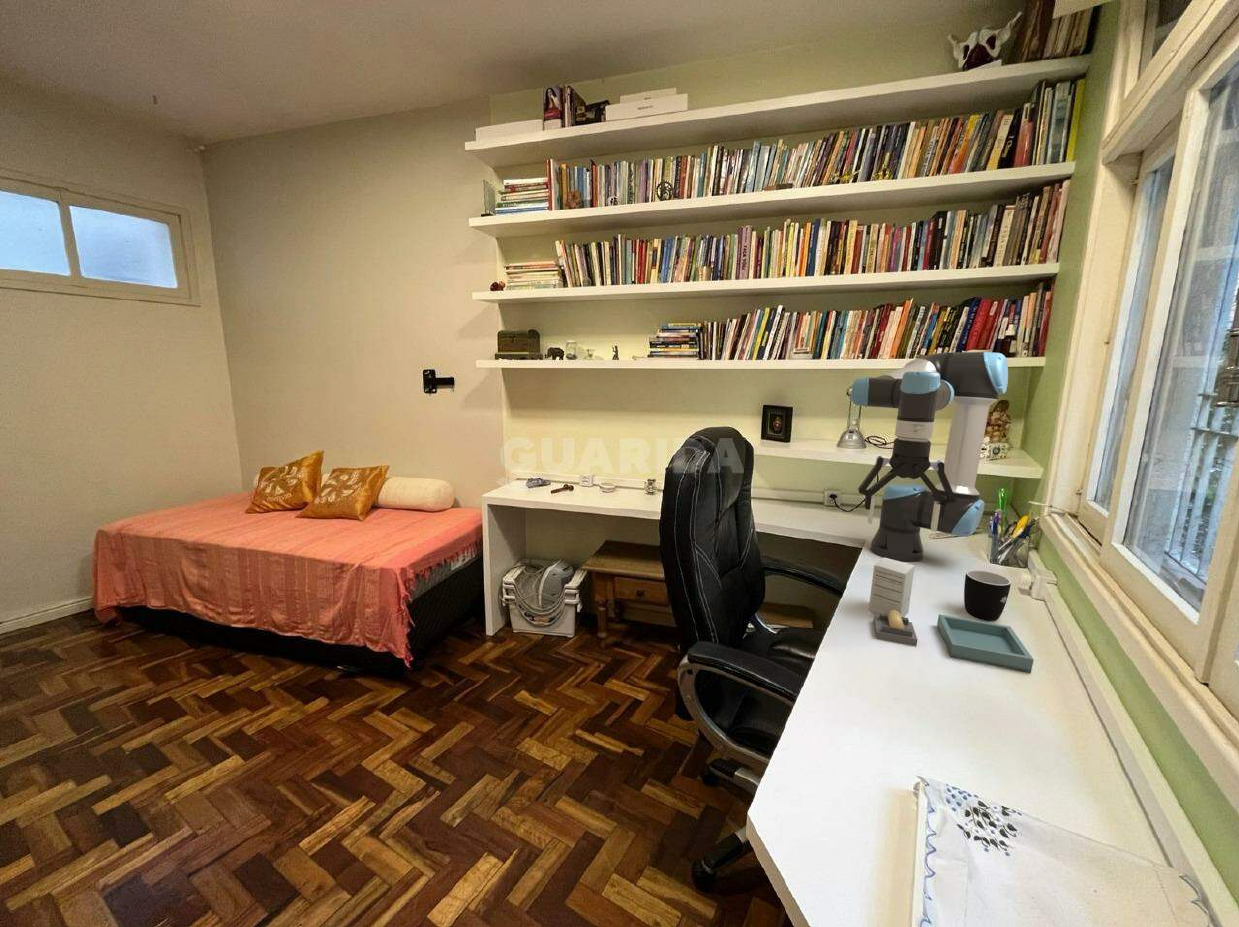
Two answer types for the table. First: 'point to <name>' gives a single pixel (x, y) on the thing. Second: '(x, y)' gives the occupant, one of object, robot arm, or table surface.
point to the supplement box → (891, 587)
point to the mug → (985, 594)
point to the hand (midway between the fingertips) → (900, 526)
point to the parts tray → (984, 643)
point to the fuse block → (894, 628)
